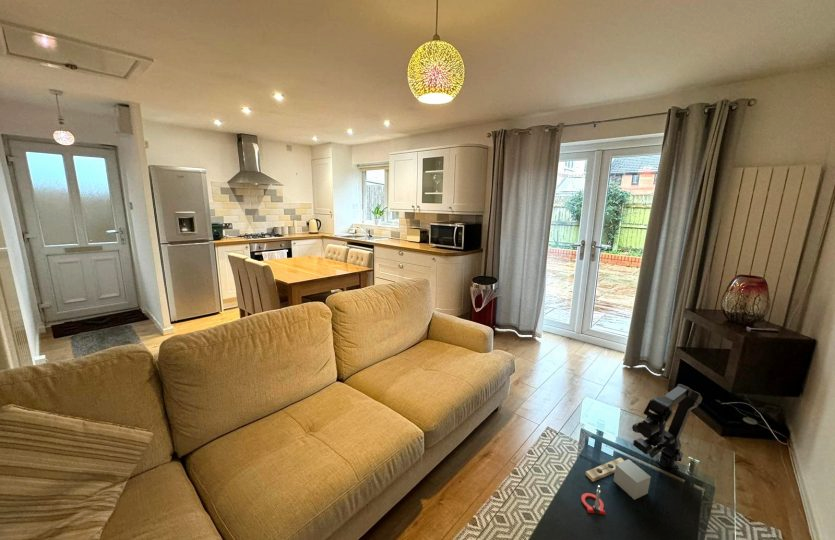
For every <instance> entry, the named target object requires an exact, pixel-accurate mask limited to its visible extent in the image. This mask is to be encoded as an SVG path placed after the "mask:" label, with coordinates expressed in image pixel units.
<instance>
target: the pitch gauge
mask: <svg viewBox="0 0 835 540" xmlns="http://www.w3.org/2000/svg"><path fill="white" fill-rule="evenodd" d="M625 460H626V459H625ZM625 460H624V459H623V458H622V457H618V458H616V459H613V460H611V461H608V462H605V463H603V464H601V465H598V466H596V467H594V468H592V469H589V470H586V471H585V475H586V476H587V478H588V479H590V481H591V482H596V481H597V480H601V479H602V478H605V477H608V476H610V475H612V474H614V473H615V467H616V464H618V463H621V462H623V461H625Z"/></svg>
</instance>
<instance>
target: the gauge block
mask: <svg viewBox="0 0 835 540" xmlns="http://www.w3.org/2000/svg"><path fill="white" fill-rule="evenodd" d="M613 474H614V475H613V479H612V480H613V482H614V483H615V484H616V485H617V486H619V487H620V488H621V489H622V490H623V491H624V492H626V494H627V495H629V496H630V497H631V498H632V499H633V500H634V501H635V500H636V499H639V498H641V497H643V496H645V495H647V494H649V489H650V484H651V478H652V477H651V475H649V474H648V473H647V472H645V471H644V470H643V469H642V468H640V467H639V466H638V465H637V464H636V463H634V462H633V461H632V460H630V459H628V458H627V459H625V461H623V462H621V463H618V464H616V467H615V472H614V473H613Z"/></svg>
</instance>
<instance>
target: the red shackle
mask: <svg viewBox="0 0 835 540" xmlns="http://www.w3.org/2000/svg"><path fill="white" fill-rule="evenodd" d="M600 494H601V486H600V485H597V489H596V494H593V493H591V492H590V493H589V492H585V493H583V494H581V498H580V499H581V500H580V501H581V503H582V505H583V506H584V507H585V508H586V511H587V513H589V514H594V515H595V514H596V515H604V516H605V515H606V511H605V510H604V507H605V504H604V502H603V500H602V499H601V498H600V496H601V495H600ZM587 498H592V499H594V505H593V506H591V505H590V504H589V503H588V502H587V501H586V499H587Z"/></svg>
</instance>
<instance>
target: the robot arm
mask: <svg viewBox="0 0 835 540" xmlns="http://www.w3.org/2000/svg"><path fill="white" fill-rule="evenodd" d="M702 400H703V396H702V395H701V393H700V392H697V391H695V390H693V389H691V388H690V387H689V386H687V385H684V384H682V383H678V384H676V386H675V387H674V388H673V389H672V390H670V391H669V392H667V393H666V394H664V395H663V396H655V397H654V398H652V399H650V400H649V401H648V403H647V405H646V408H645V409H644V411H643V415H644V416H646V418H645V419H643V420H641V421H639V422H637V423H634V424H632V427H631V430H632V431H633V432H634V433H637V434H638V433H639V434H641V435H642V436H643V437H644V438H646V439H643V438H642V437H639V438H636V439H634V440H632V441H633V442H632V445H633V447H635V448H636V449H638V450H639V451H641V452H642V453H643V454H645V455H649V457H650V458H651V459H653V458H655V457H656V456H657V455H658V454H659V453H660V457H659V458H658V459H656V460H655V462H656V463H657V462H658V463H659V465H660V466H662V468H663V469H665V470H666V471H668V472H672V471H675V470H677V469H679V468H678V467H680V466H678V465H677V464H676V463H677V462H682V459H683V457H684V453H683V451H681V448H682V444H681V440H680V438H681V435H682V433H683V430H684V428H685V425H686V423H687V420H688V418H689V416H690V414H691V411H692V410H693V409H696V408H697V407H698V406H699V405H700V404H701V403H702ZM675 406H677V408H676V409H675V412H674V415H673V409H674V407H675ZM672 415H673V417H672ZM671 417H672V420H671V422H670V425H669V426H668V429H667V430H666V427H667V423H669V420H670V418H671ZM659 459H660V461H659ZM658 463H657V464H658ZM676 468H677V469H676ZM674 469H675V470H674Z"/></svg>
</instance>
